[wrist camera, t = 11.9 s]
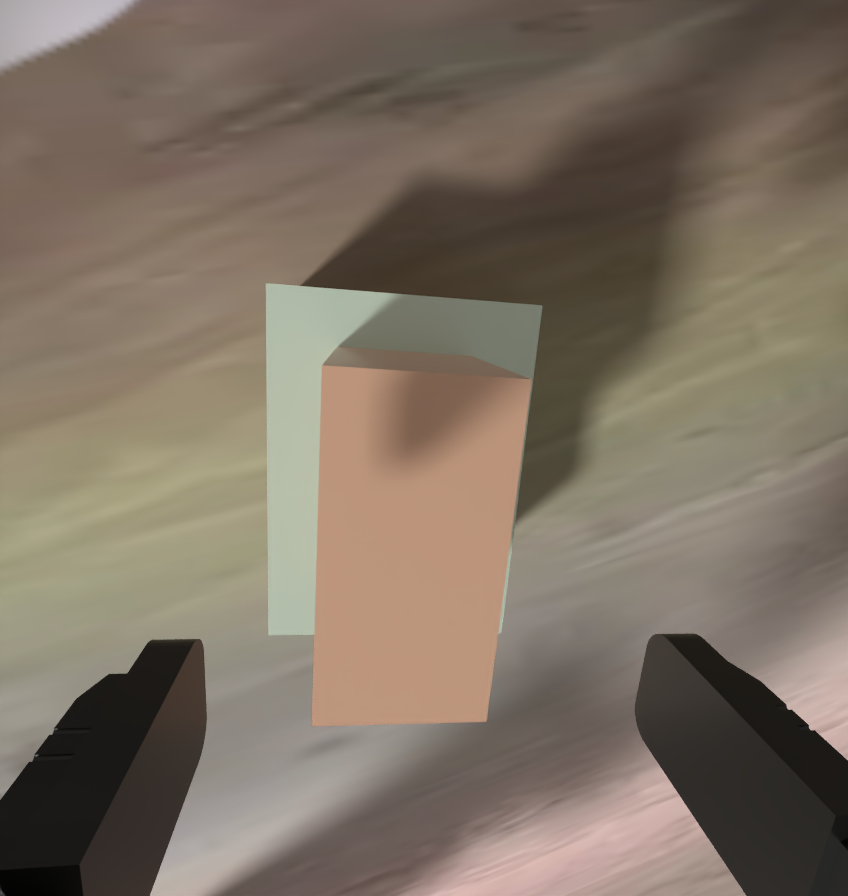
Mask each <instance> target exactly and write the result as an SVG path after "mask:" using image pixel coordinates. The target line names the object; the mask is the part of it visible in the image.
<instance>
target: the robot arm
mask: <svg viewBox="0 0 848 896" xmlns="http://www.w3.org/2000/svg"><path fill="white" fill-rule="evenodd" d="M635 715H636V721H637V726H638V729H639V732H640V735H641V737H642V739H643V741H644V742H645V744H646V746H647V747H648V749H649V750H650V752H651V753H652V755H653V756H654V758H655V759H656V761H657V762H658V764H659V765H660V767H661V768H662V770H663V771H664V773H665V774H666V776H667V777H668V779H669V780H670V782H671V783H672V785H673V786H674V788H675V789H676V791H677V792H678V794H679V795H680V797H681V798H682V800H683V801H684V803H685V804H686V806H687V807H688V809H689V810H690V812H691V813H692V815H693V816H694V818H695V819H696V821H697V822H698V824H699V825H700V827H701V828H702V830H703V831H704V833H705V834H706V836H707V837H708V839H709V840H710V842H711V843H712V845H713V846H714V848H715V849H716V851H717V852H718V854H719V855H720V857H721V858H722V860H723V861H724V863H725V864H726V866H727V867H728V869H729V870H730V872H731V873H732V874H733V876H734V877H735V879H736V880H737V882H738V883H739V885H740V886H741V888H742V889H743V891H744V892H745V894H746V895H747V896H848V760H846V759H845V758H844V757H843V756H842V755H841V754H840V753H839V752H838V751H837V750H835V749H834V748H833V747H832V746H831V745H830V744H829V743H828V742H827V741H826V740H824V739H823V738H822V737H821V736H820V735H819V734H818V733H817V732H816V731H815V730H813V731H811V730H810V729H809V725H808V724H807V723H806V722H805V721H804V720H802V719H801V718H800V717H799V716H798V715H797V714H796V713H795V712H794V711H793V710H788V709H787V707H786V704H785V703H784V702H783V701H782V700H781V699H779V698H778V697H777V696H776V695H775V694H774V693H773V692H772V691H771V690H770V689H768V688H767V687H766V686H765V685H764V684H763V683H762V682H761V681H759V680H758V679H756V678H754V677H753V676H751V675H749V674H748V673H746V672H744V671H743V670H741V669H739V668H738V667H736V666H735V665H733V664H731V663H730V662H728V661H727V660H726V659H724V658H723V657H722V656H721V655H720V654H719V653H718V652H717V651H716V650H715V649H714V648H713V647H712V646H711V645H710V644H708V643H707V642H706V641H705V640H704V639H703V638H702V637H701V636H699V635H697V634H655V635H653V636H652V637H651V638H650V639H649V641H648V644H647V648H646V653H645V658H644V663H643V668H642V673H641V678H640V683H639V688H638V693H637V698H636V703H635ZM206 720H207V713H206V690H205V668H204V649H203V644H202V641H201V640H200V639H175V640H151V641H150V642H148V643H147V645H146V646H145V648H144V649H143V651H142V652H141V654H140V655H139V657H138V658H137V660H136V661H135V663H134V664H133V666H132V667H131V669H130V670H129V672H128V673H127V674H109V675H107V676H106V677H105V678H103V679H102V680H101V681H99V682H98V683H97V684H95V685H94V686H93V687H91V688H90V689H89V690H87V691H86V692H85V693H83V694H82V695H81V696H79V697H78V698H77V699H76V700H75V701H74V703H73V704H72V705H71V707H70V708H69V709H68V711H67V712H66V713H65V715H64V716H63V717H62V719H61V720H60V721H59V723H58V724H57V725H56V727H55V728H54V732H53V734H52V735H49V736H48V737H47V739H46V740H45V741H44V743H43V744H42V745H41V747H40V748H39V749H38V751H37V752H36V753H35V755H34V759H33V761H32V762H29V763H28V764H27V765H26V767H25V768H24V769H23V771H22V772H21V773H20V775H19V776H18V777H17V779H16V780H15V781H14V783H13V784H12V785H11V787H10V788H9V789H8V791H7V792H6V793H5V795H4V796H3V797H2V799H1V800H0V896H150V893H151V891H152V888H153V885H154V882H155V880H156V877H157V874H158V871H159V869H160V866H161V863H162V861H163V858H164V855H165V852H166V850H167V847H168V844H169V842H170V839H171V836H172V833H173V831H174V828H175V825H176V822H177V820H178V817H179V814H180V812H181V809H182V806H183V803H184V801H185V798H186V795H187V793H188V790H189V787H190V784H191V782H192V779H193V776H194V773H195V771H196V768H197V765H198V763H199V760H200V756H201V753H202V749H203V744H204V739H205V732H206Z"/></svg>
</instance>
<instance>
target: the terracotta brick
mask: <svg viewBox="0 0 848 896" xmlns="http://www.w3.org/2000/svg"><path fill="white" fill-rule="evenodd" d="M531 382H532V379H529V378H527V377H524V376H522V375H519V374H517V373H514V372H511V371H509V370H506V369H504V368H501V367H498V366H496V365H493V364H491V363H488V362H486V361H483V360H480V359H478V358H475V357H473V356H462V355H448V354H435V353H421V352H407V351H393V350H379V349H366V348H352V347H338V346H337V348H336V349H335V350H334V351H333V352H332V354H331V355H330V356H329V357H328V358H327V360H326V361H325V362H324V363H323V365H322V378H321V414H320V451H319V487H318V523H317V560H316V596H315V632H314V669H313V705H312V726H341V725H379V724H418V723H457V722H487V714H488V707H489V699H490V692H491V684H492V677H493V669H494V661H495V654H496V646H497V639H498V631H499V624H500V616H501V609H502V601H503V593H504V586H505V578H506V571H507V563H508V556H509V548H510V540H511V533H512V525H513V518H514V510H515V503H516V495H517V488H518V480H519V472H520V465H521V457H522V450H523V442H524V435H525V427H526V419H527V412H528V404H529V397H530V389H531Z"/></svg>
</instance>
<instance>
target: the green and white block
mask: <svg viewBox="0 0 848 896" xmlns="http://www.w3.org/2000/svg"><path fill="white" fill-rule="evenodd" d="M542 306H543V305H531V304H519V303H506V302H494V301H481V300H469V299H456V298H444V297H431V296H419V295H406V294H394V293H381V292H369V291H356V290H344V289H331V288H319V287H306V286H293V285H281V284H268V283H266V355H267V493H268V631H269V635H314V632H315V596H316V560H317V523H318V487H319V451H320V414H321V378H322V365H323V363H324V362H325V361H326V360H327V358H328V357H329V356H330V355H331V354H332V352H333V351H334V350H335V349H336V348H337V346H338V347H352V348H366V349H379V350H393V351H407V352H421V353H435V354H448V355H462V356H473V357H475V358H478V359H480V360H483V361H486V362H488V363H491V364H493V365H496V366H498V367H501V368H504V369H506V370H509V371H511V372H514V373H517V374H519V375H522V376H524V377H527V378H529V379H532V382H531V389H530V397H529V404H528V412H527V419H526V427H525V435H524V442H523V450H522V457H521V465H520V472H519V480H518V488H517V495H516V503H515V510H514V518H513V525H512V533H511V540H510V548H509V556H508V563H507V571H506V578H505V586H504V593H503V601H502V609H501V616H500V624H499V631H498V633H501V632H502V624H503V616H504V608H505V600H506V592H507V584H508V576H509V568H510V560H511V552H512V544H513V537H514V529H515V521H516V513H517V505H518V497H519V489H520V481H521V473H522V465H523V457H524V449H525V441H526V433H527V425H528V417H529V410H530V402H531V394H532V386H533V378H534V370H535V362H536V354H537V346H538V338H539V330H540V322H541V314H542Z"/></svg>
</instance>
